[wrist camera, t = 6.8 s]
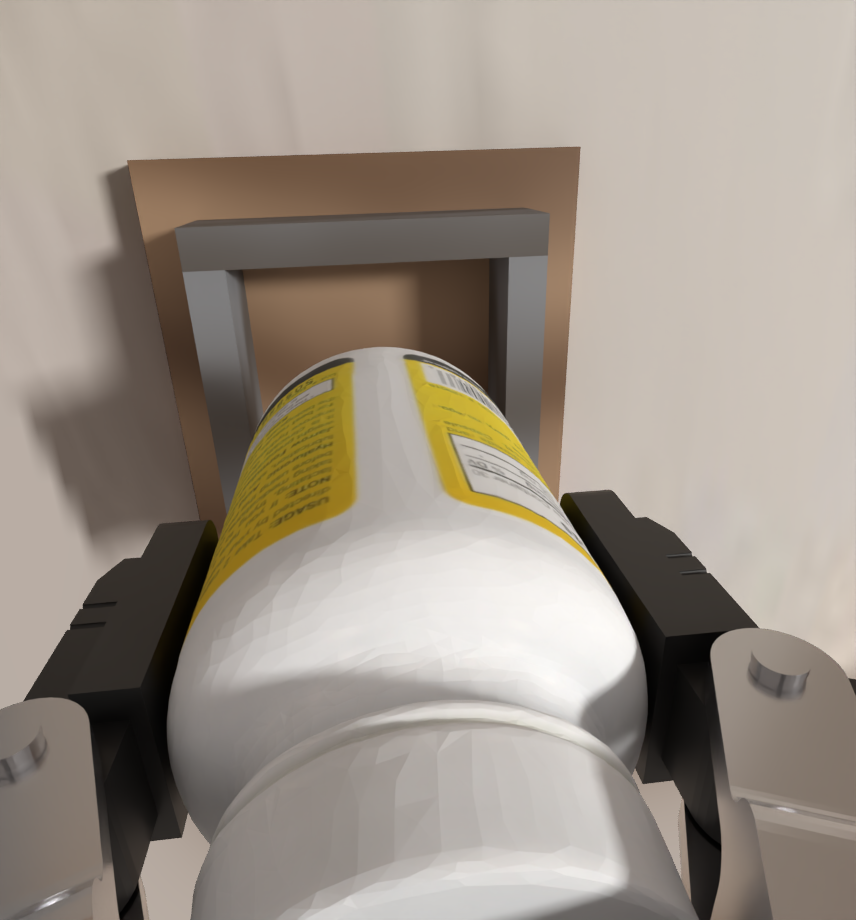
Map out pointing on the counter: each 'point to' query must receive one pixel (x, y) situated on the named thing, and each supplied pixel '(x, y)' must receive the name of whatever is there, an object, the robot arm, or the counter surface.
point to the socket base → (358, 282)
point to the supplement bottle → (410, 674)
